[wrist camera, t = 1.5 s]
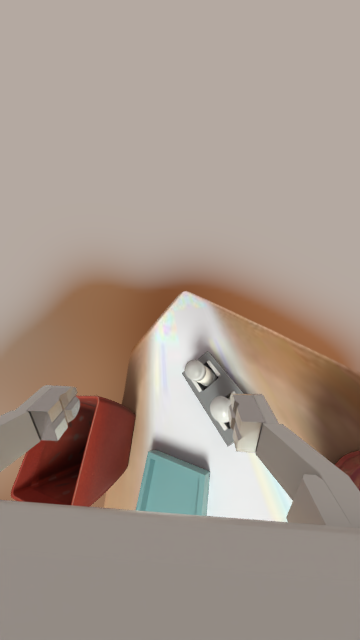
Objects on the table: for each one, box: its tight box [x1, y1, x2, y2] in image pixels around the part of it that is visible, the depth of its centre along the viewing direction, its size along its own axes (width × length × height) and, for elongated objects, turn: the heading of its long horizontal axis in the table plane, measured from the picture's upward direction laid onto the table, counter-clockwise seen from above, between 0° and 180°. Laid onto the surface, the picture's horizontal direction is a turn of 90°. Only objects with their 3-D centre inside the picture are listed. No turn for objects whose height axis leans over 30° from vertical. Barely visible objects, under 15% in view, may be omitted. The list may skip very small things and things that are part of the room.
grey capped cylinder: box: [210, 396, 231, 423], centre depth 34 cm, size 4×4×10 cm
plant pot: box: [11, 396, 135, 507], centre depth 41 cm, size 19×19×17 cm
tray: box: [136, 450, 210, 516], centre depth 34 cm, size 14×14×3 cm
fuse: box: [185, 360, 216, 387], centre depth 40 cm, size 4×4×10 cm
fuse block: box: [182, 351, 244, 446], centre depth 39 cm, size 18×9×3 cm, turn 33°
